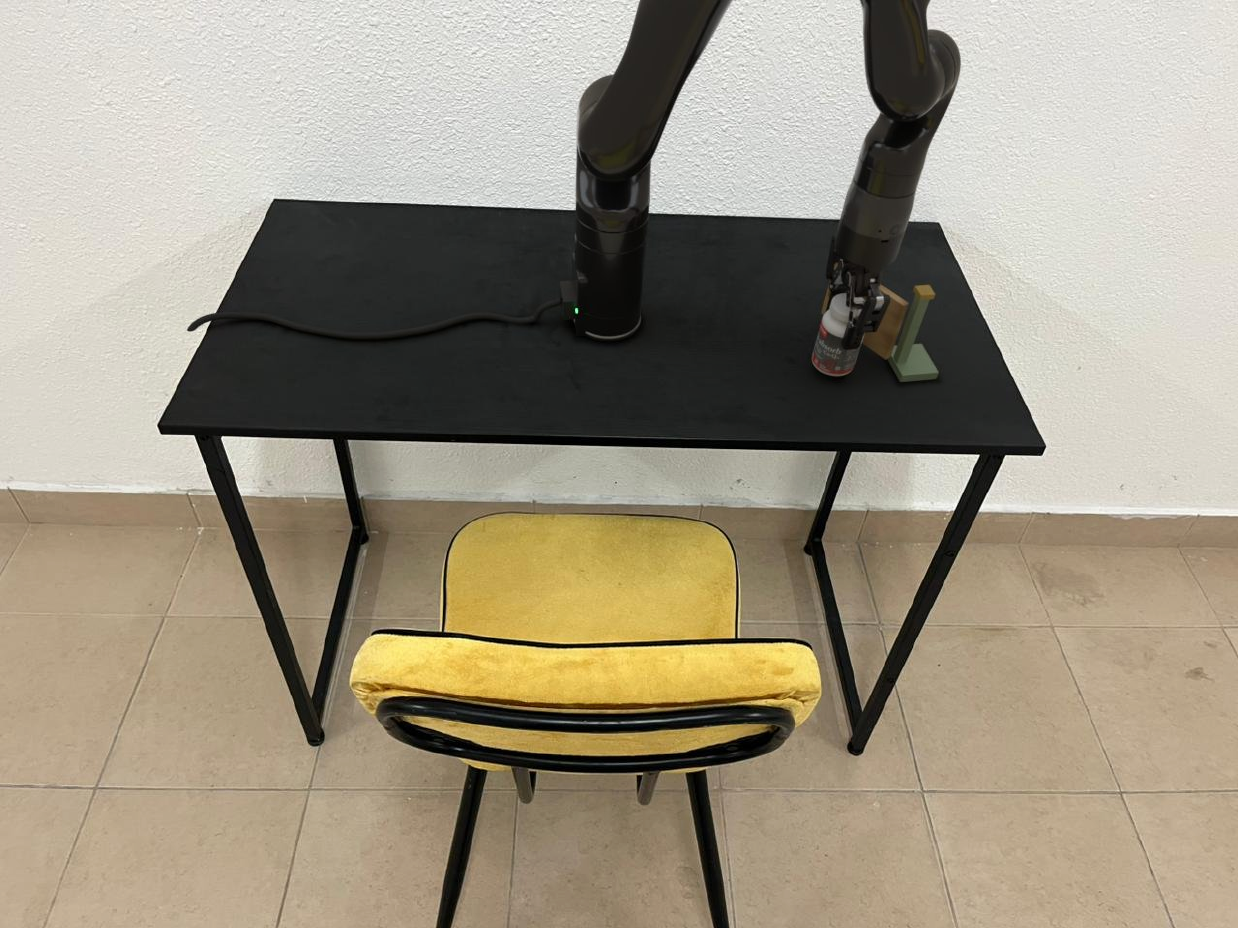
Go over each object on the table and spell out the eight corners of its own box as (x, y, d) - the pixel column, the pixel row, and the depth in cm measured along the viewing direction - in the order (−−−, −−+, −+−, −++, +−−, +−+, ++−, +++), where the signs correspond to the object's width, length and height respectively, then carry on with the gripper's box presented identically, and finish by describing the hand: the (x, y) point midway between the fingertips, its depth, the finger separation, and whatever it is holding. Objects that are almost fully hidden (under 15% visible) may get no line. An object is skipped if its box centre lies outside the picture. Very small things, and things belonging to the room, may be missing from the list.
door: (816, 315, 128) (830, 261, 121) (825, 310, 129) (840, 257, 122) (881, 362, 122) (899, 308, 115) (890, 357, 123) (909, 303, 116)
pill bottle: (801, 360, 121) (817, 300, 114) (830, 344, 124) (847, 284, 117) (834, 384, 119) (852, 324, 111) (862, 366, 121) (882, 306, 114)
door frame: (898, 382, 121) (927, 305, 112) (882, 353, 125) (908, 276, 116) (936, 379, 122) (967, 302, 113) (919, 350, 126) (948, 273, 117)
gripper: (823, 185, 109) (796, 299, 121) (865, 255, 99) (831, 371, 112) (882, 182, 110) (850, 295, 123) (930, 251, 101) (889, 366, 113)
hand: (841, 331), depth 117 cm, fingers closed on pill bottle, 5 cm apart
